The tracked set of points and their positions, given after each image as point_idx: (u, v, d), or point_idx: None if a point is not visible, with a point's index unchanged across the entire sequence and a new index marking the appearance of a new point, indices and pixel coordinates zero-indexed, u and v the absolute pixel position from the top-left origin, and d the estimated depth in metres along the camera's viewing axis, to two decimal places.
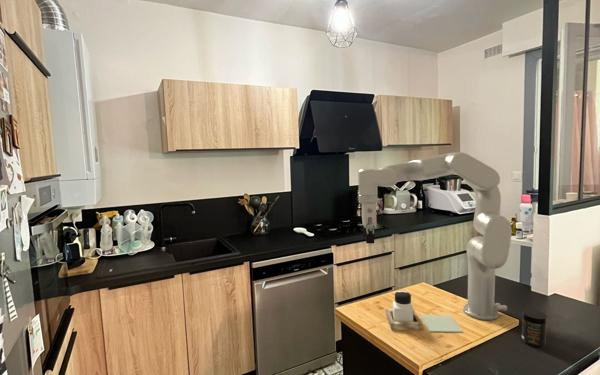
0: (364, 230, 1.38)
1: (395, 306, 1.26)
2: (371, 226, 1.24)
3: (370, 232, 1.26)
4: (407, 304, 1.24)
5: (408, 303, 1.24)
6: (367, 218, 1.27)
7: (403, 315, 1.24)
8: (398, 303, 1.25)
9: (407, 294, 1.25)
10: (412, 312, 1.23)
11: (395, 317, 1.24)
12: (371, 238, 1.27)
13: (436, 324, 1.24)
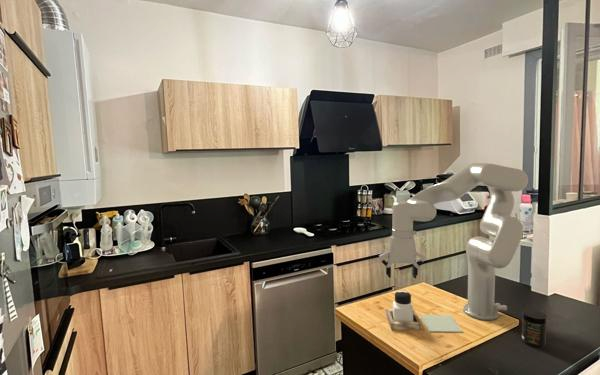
0: None
1: (395, 306, 1.26)
2: None
3: None
4: (407, 304, 1.24)
5: (408, 303, 1.24)
6: (416, 252, 1.23)
7: (403, 315, 1.24)
8: (398, 303, 1.25)
9: (407, 294, 1.25)
10: (412, 312, 1.23)
11: (395, 317, 1.24)
12: None
13: (436, 324, 1.24)
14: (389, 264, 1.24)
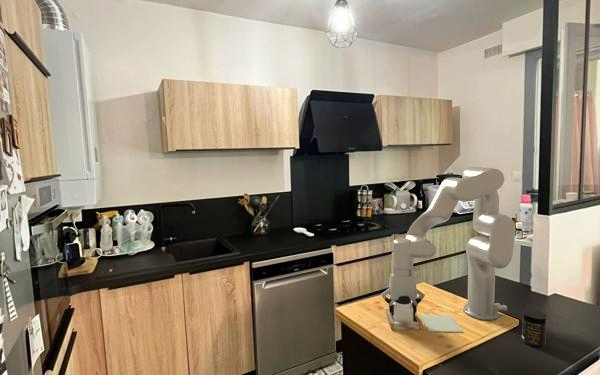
0: (393, 308, 1.26)
1: (395, 306, 1.26)
2: None
3: None
4: (407, 304, 1.24)
5: (408, 303, 1.24)
6: (416, 289, 1.25)
7: (403, 314, 1.24)
8: (398, 303, 1.25)
9: None
10: (412, 312, 1.23)
11: (395, 317, 1.24)
12: None
13: (436, 324, 1.24)
14: (392, 302, 1.26)
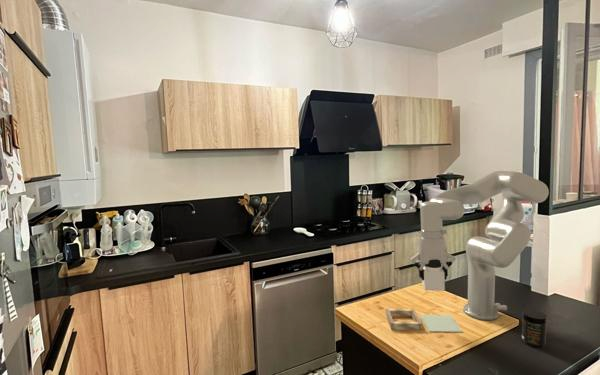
0: (423, 272, 1.23)
1: (425, 270, 1.23)
2: None
3: None
4: (438, 267, 1.21)
5: (439, 266, 1.21)
6: (446, 252, 1.22)
7: (434, 278, 1.21)
8: (428, 267, 1.22)
9: None
10: (443, 275, 1.20)
11: (426, 281, 1.22)
12: None
13: (436, 324, 1.24)
14: (422, 266, 1.23)
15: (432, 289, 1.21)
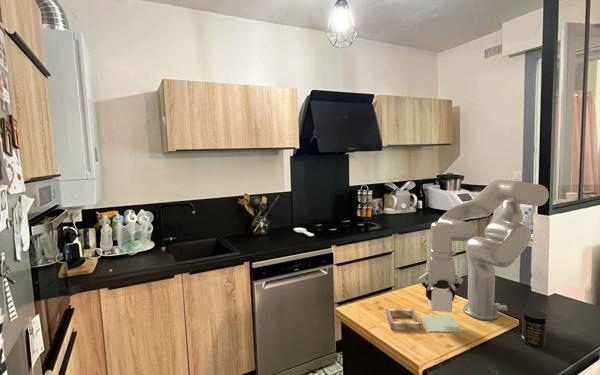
0: None
1: (433, 291, 1.23)
2: None
3: None
4: (446, 288, 1.21)
5: (447, 287, 1.21)
6: (455, 273, 1.22)
7: (442, 299, 1.21)
8: (436, 287, 1.22)
9: None
10: (451, 297, 1.20)
11: (433, 302, 1.21)
12: None
13: (436, 324, 1.24)
14: (430, 287, 1.23)
15: (439, 310, 1.21)
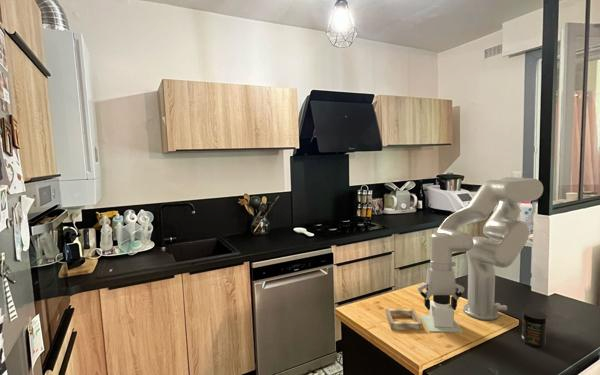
0: (429, 302, 1.24)
1: (434, 306, 1.23)
2: None
3: None
4: (447, 304, 1.22)
5: (448, 303, 1.22)
6: None
7: (444, 315, 1.21)
8: (438, 303, 1.22)
9: None
10: (452, 312, 1.21)
11: (435, 318, 1.22)
12: None
13: None
14: (428, 296, 1.23)
15: (441, 325, 1.22)
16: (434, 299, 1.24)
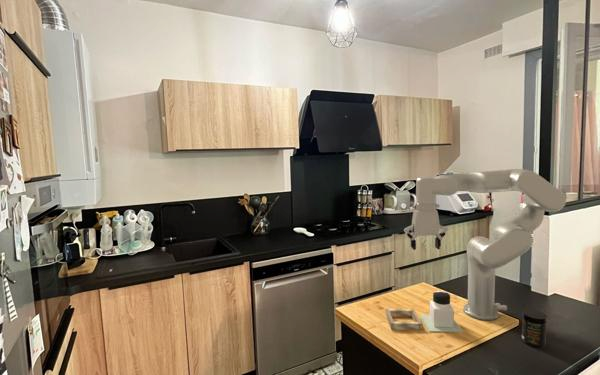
0: None
1: (434, 306, 1.23)
2: None
3: None
4: (447, 304, 1.22)
5: (448, 303, 1.22)
6: None
7: (444, 315, 1.21)
8: (438, 303, 1.22)
9: (446, 294, 1.23)
10: (452, 312, 1.21)
11: (435, 318, 1.22)
12: None
13: None
14: (414, 237, 1.31)
15: (441, 326, 1.22)
16: (434, 299, 1.24)
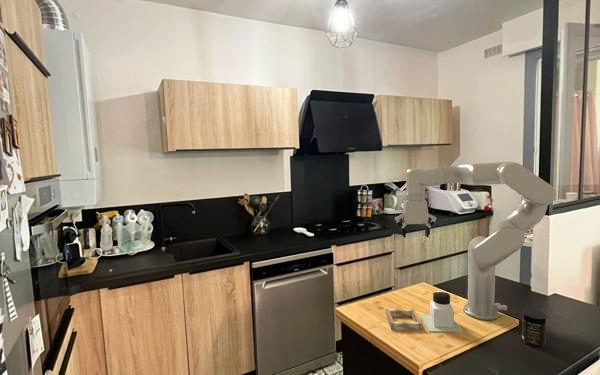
0: None
1: (434, 306, 1.23)
2: None
3: None
4: (447, 304, 1.22)
5: (448, 303, 1.22)
6: None
7: (444, 315, 1.21)
8: (438, 303, 1.22)
9: (446, 294, 1.23)
10: (452, 312, 1.21)
11: (435, 318, 1.22)
12: None
13: None
14: (404, 225, 1.38)
15: (441, 326, 1.22)
16: (434, 299, 1.24)
